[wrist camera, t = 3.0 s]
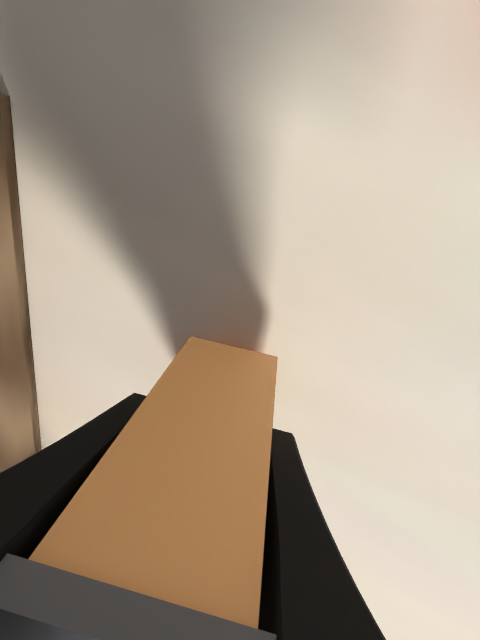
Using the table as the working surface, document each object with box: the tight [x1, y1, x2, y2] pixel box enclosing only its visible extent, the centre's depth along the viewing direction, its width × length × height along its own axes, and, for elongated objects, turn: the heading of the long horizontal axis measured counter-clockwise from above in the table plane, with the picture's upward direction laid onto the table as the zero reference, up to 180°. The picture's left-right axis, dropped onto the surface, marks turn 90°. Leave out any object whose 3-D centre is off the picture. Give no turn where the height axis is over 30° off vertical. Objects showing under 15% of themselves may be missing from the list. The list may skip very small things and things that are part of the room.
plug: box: [0, 336, 277, 640], centre depth 8 cm, size 4×4×8 cm
